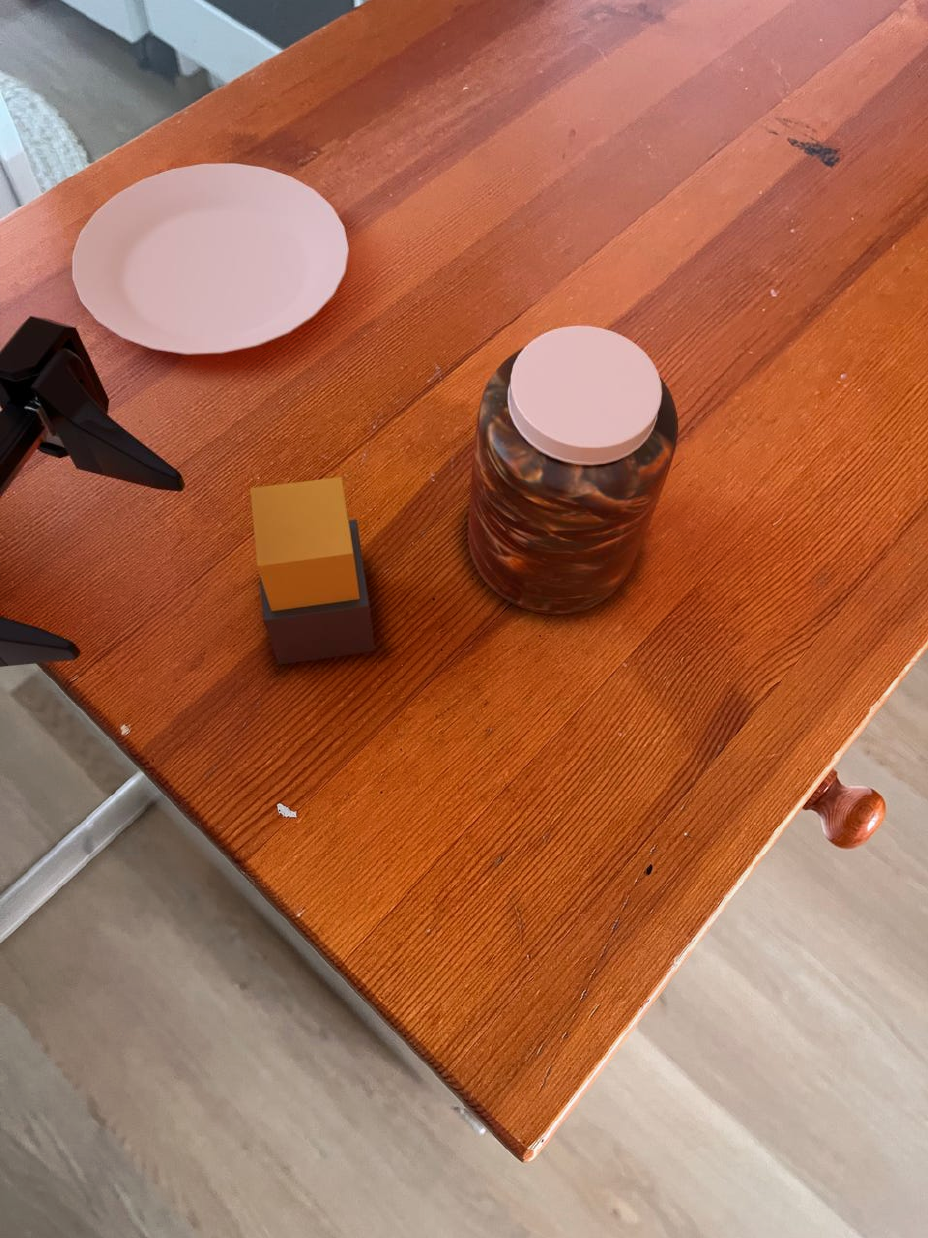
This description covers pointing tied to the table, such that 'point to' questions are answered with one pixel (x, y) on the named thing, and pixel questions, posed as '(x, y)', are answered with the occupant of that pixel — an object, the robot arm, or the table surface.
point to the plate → (210, 258)
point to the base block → (322, 622)
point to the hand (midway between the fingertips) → (131, 562)
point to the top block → (304, 543)
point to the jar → (568, 468)
